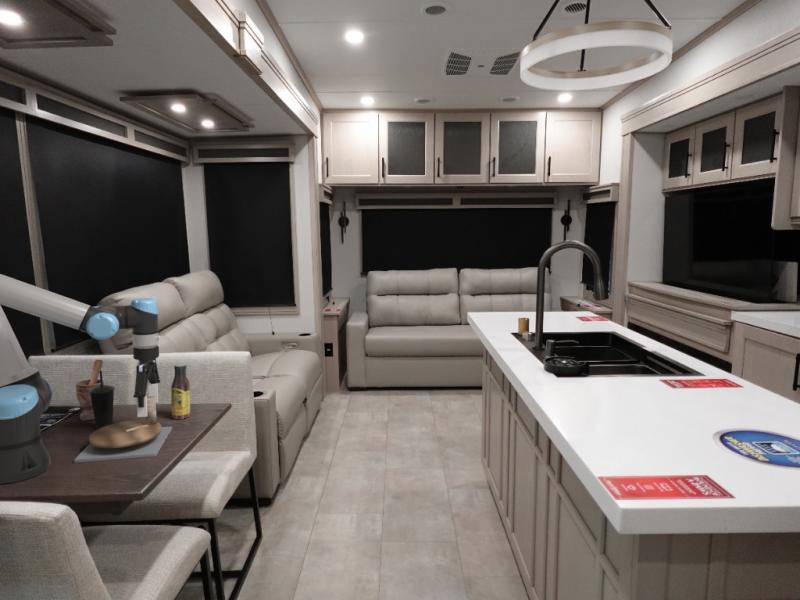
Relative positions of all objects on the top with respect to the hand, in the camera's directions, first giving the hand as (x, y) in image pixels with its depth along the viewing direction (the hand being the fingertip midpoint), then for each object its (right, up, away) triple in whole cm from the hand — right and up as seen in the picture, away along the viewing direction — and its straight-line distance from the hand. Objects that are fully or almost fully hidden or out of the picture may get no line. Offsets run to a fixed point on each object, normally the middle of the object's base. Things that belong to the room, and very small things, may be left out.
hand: (148, 409), depth 164 cm
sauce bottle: (+3, -7, +19) cm, 20 cm away
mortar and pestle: (-30, -7, +19) cm, 36 cm away
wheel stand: (-4, -10, -5) cm, 12 cm away
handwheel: (-4, -9, -6) cm, 11 cm away
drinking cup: (-19, -8, +9) cm, 23 cm away
